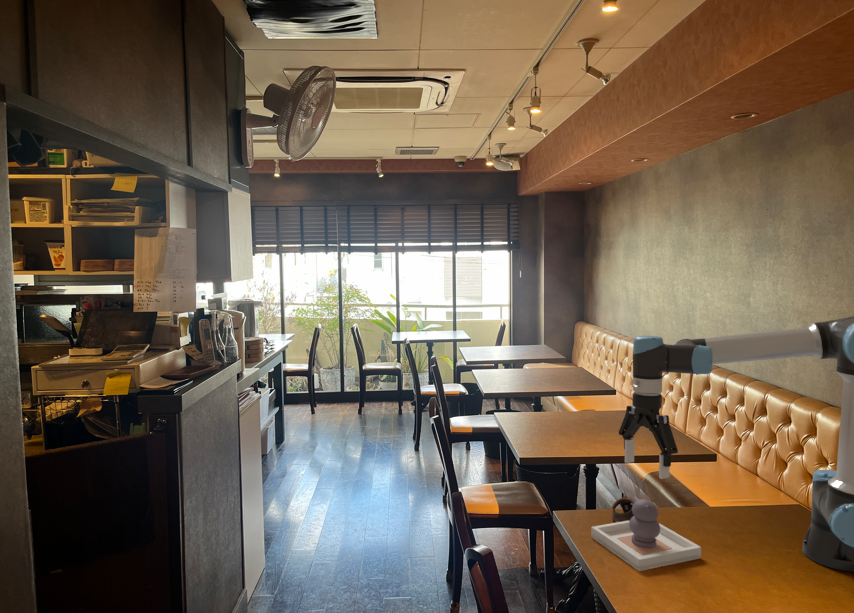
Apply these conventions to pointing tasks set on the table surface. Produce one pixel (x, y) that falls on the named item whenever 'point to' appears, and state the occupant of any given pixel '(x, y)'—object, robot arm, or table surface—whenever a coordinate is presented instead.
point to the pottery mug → (626, 507)
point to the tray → (665, 553)
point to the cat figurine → (644, 523)
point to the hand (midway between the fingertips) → (646, 469)
